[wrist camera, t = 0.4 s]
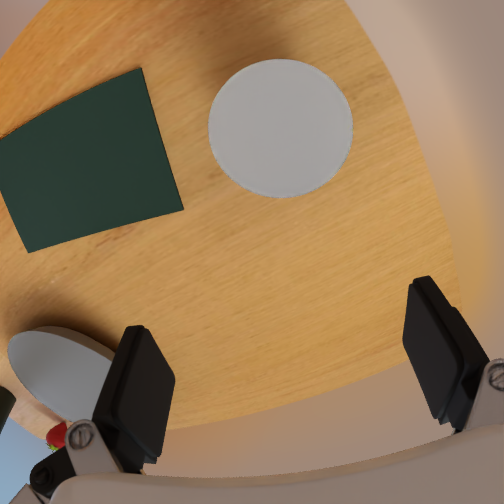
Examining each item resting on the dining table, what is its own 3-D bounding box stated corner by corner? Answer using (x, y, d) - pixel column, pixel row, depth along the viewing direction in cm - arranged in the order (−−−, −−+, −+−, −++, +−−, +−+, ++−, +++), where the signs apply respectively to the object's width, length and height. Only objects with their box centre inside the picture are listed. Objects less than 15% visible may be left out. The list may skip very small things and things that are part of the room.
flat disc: (113, 428, 56) (109, 444, 52) (5, 352, 46) (-5, 368, 42) (197, 390, 47) (193, 412, 43) (49, 279, 37) (33, 299, 33)
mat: (-13, 149, 27) (-14, 150, 27) (141, 67, 25) (140, 67, 24) (29, 252, 35) (28, 253, 34) (184, 209, 32) (183, 210, 32)
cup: (277, 170, 30) (290, 223, 20) (208, 119, 27) (179, 143, 17) (332, 107, 27) (380, 124, 16) (263, 52, 24) (269, 30, 14)
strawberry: (81, 428, 58) (70, 462, 50) (66, 430, 60) (55, 461, 52) (62, 414, 56) (49, 449, 47) (48, 417, 58) (36, 449, 49)
